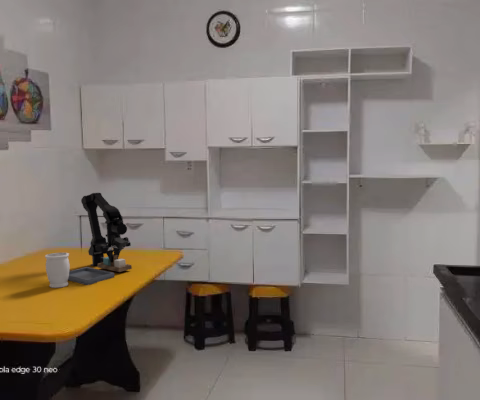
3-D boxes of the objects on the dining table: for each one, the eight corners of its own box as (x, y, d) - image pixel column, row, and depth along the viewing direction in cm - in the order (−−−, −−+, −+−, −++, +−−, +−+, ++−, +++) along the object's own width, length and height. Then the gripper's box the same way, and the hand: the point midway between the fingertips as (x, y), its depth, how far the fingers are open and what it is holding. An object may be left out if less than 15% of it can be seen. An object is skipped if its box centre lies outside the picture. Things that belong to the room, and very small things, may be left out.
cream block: (114, 267, 258) (114, 259, 258) (120, 265, 261) (120, 258, 261) (119, 268, 256) (119, 260, 255) (125, 266, 259) (125, 259, 258)
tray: (60, 278, 249) (60, 273, 248) (87, 271, 261) (87, 267, 261) (87, 285, 235) (87, 279, 234) (114, 277, 247) (114, 272, 247)
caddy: (97, 267, 264) (96, 254, 263) (110, 264, 270) (109, 251, 269) (119, 272, 253) (118, 258, 252) (131, 268, 259) (131, 255, 258)
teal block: (103, 265, 263) (103, 257, 263) (109, 263, 267) (109, 256, 266) (108, 266, 261) (107, 258, 261) (114, 264, 264) (114, 257, 264)
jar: (75, 283, 238) (73, 252, 237) (61, 289, 228) (59, 257, 227) (57, 282, 242) (55, 251, 240) (42, 287, 232) (40, 256, 230)
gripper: (107, 236, 247) (109, 267, 249) (136, 231, 261) (138, 260, 263) (93, 234, 254) (95, 264, 255) (123, 229, 268) (124, 257, 270)
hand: (114, 261), depth 261 cm, fingers closed on caddy, 2 cm apart
